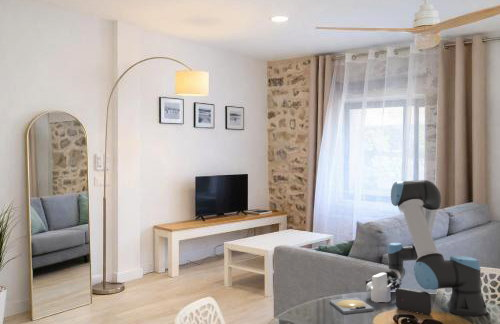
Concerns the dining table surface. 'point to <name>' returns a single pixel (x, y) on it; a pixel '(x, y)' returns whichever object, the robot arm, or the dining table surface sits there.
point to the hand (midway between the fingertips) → (377, 288)
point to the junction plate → (351, 305)
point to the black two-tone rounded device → (413, 300)
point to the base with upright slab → (380, 288)
